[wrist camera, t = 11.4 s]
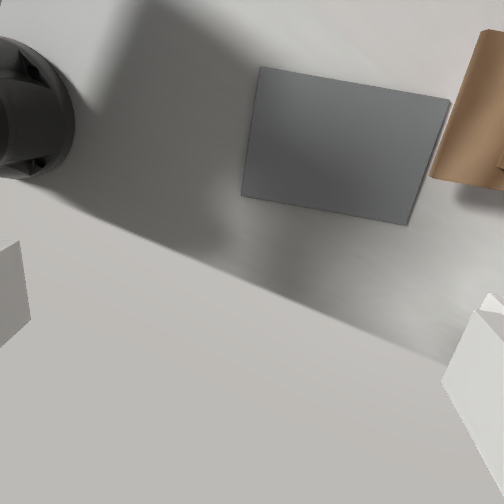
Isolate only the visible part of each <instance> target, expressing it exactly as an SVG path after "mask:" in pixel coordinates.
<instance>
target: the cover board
mask: <svg viewBox="0 0 504 504" xmlns="http://www.w3.org/2000/svg"><path fill="white" fill-rule="evenodd" d="M429 176H430V177H432V178H434V179H440V180H445V181H451V182H456V183H462V184H467V185H473V186H479V187H484V188H490V189H495V190H501V191H504V32H501V31H495V30H490V29H488V30H485V31H481V33H480V36H479V38H478V41H477V44H476V47H475V49H474V52H473V55H472V58H471V60H470V63H469V66H468V69H467V71H466V74H465V77H464V80H463V82H462V85H461V88H460V91H459V93H458V96H457V99H456V102H455V104H454V107H453V110H452V113H451V115H450V118H449V121H448V124H447V126H446V129H445V132H444V135H443V137H442V140H441V143H440V146H439V148H438V151H437V154H436V157H435V159H434V162H433V165H432V168H431V170H430V173H429Z"/></svg>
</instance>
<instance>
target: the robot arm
mask: <svg viewBox="0 0 504 504" xmlns="http://www.w3.org/2000/svg"><path fill="white" fill-rule="evenodd" d="M1 2H2V0H0V5H1ZM73 136H74V113H73V108H72V104H71V101H70V98H69V95H68V92H67V90H66V88H65V86H64V84H63V82H62V80H61V79H60V77H59V76H58V74H57V73H56V72H55V70H54V69H53V68H52V66H51V65H50V64H49V63H48V62H47V61H46V60H45V59H44V58H43V57H42V56H41V55H39V54H38V53H37V52H36V51H34V50H33V49H31V48H30V47H28V46H26V45H25V44H23V43H21V42H18V41H16V40H13V39H10V38H6V37H1V36H0V177H2V178H10V179H23V178H30V177H33V176H37V175H40V174H43V173H45V172H48V171H50V170H52V169H53V168H55V167H56V166H57V165H59V164H60V163H61V162H62V160H63V159H64V158H65V157H66V155H67V153H68V151H69V149H70V147H71V144H72V141H73ZM30 320H31V317H30V310H29V303H28V297H27V289H26V282H25V276H24V269H23V262H22V255H21V248H20V241H19V240H14V239H7V238H1V237H0V348H1V347H2V346H3V345H4V344H5V343H6V342H7V341H8V340H9V339H10V338H12V337H13V336H14V335H15V334H16V333H17V332H18V331H19V330H20V329H21V328H22V327H23V326H24V325H26V324H27V323H28V322H29V321H30ZM441 384H442V386H443V387H444V389H445V391H446V393H447V395H448V397H449V398H450V400H451V402H452V404H453V406H454V407H455V409H456V411H457V413H458V415H459V416H460V418H461V420H462V422H463V424H464V426H465V427H466V429H467V431H468V433H469V435H470V436H471V438H472V440H473V442H474V444H475V446H476V447H477V449H478V451H479V453H480V455H481V456H482V458H483V460H484V462H485V464H486V466H487V467H488V469H489V471H490V473H491V475H492V476H493V478H494V480H495V482H496V484H497V485H498V487H499V489H500V491H501V493H502V494H503V496H504V316H503V315H502V314H501V313H496V312H489V311H482V310H476V309H474V311H473V314H472V316H471V318H470V320H469V322H468V324H467V327H466V329H465V331H464V333H463V335H462V337H461V339H460V342H459V344H458V346H457V348H456V350H455V352H454V355H453V357H452V359H451V361H450V363H449V365H448V367H447V370H446V372H445V374H444V376H443V378H442V380H441Z"/></svg>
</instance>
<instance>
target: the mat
mask: <svg viewBox="0 0 504 504" xmlns="http://www.w3.org/2000/svg"><path fill="white" fill-rule="evenodd" d="M449 102H450V100H449V99H443V98H437V97H432V96H426V95H420V94H415V93H409V92H403V91H397V90H392V89H386V88H380V87H375V86H369V85H363V84H357V83H352V82H346V81H340V80H335V79H329V78H323V77H318V76H312V75H306V74H300V73H295V72H289V71H283V70H278V69H272V68H266V67H260V71H259V78H258V85H257V91H256V98H255V104H254V111H253V118H252V124H251V131H250V137H249V144H248V151H247V157H246V164H245V170H244V177H243V184H242V190H241V196H246V197H251V198H257V199H262V200H268V201H273V202H279V203H284V204H290V205H296V206H301V207H307V208H312V209H318V210H323V211H329V212H334V213H340V214H345V215H351V216H357V217H362V218H368V219H373V220H379V221H384V222H390V223H395V224H401V225H406V222H407V220H408V217H409V214H410V211H411V208H412V206H413V203H414V200H415V197H416V194H417V192H418V189H419V186H420V183H421V180H422V178H423V175H424V172H425V169H426V166H427V163H428V161H429V158H430V155H431V152H432V149H433V147H434V144H435V141H436V138H437V135H438V133H439V130H440V127H441V124H442V121H443V118H444V116H445V113H446V110H447V107H448V104H449Z"/></svg>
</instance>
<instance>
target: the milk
mask: <svg viewBox="0 0 504 504" xmlns="http://www.w3.org/2000/svg"><path fill="white" fill-rule="evenodd" d="M479 310H482V311H489V312H496V313H501V314H502V315H503V316H504V296H502V295H498V294H494V293H488V295H487V297H486V298H485V300H484V302H483V303H482V305H481V307H480V309H479Z"/></svg>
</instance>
